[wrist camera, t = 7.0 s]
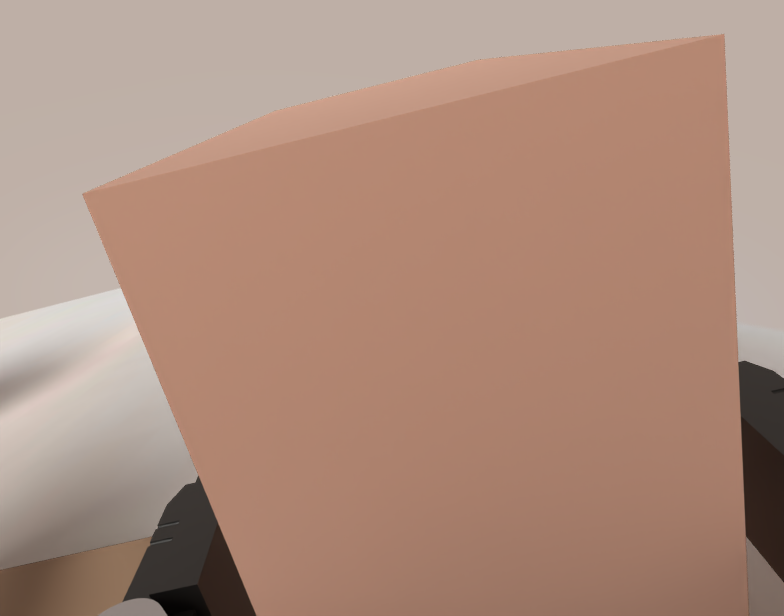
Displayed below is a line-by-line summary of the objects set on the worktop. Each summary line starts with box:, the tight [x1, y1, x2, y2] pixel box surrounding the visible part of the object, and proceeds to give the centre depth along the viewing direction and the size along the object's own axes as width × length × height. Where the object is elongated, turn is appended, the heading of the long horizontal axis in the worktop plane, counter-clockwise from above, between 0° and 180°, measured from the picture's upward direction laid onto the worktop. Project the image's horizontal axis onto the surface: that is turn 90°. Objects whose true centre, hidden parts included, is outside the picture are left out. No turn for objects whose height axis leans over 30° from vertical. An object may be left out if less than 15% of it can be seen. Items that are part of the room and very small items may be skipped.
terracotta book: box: [83, 34, 749, 616], centre depth 13 cm, size 5×11×15 cm, turn 4°
